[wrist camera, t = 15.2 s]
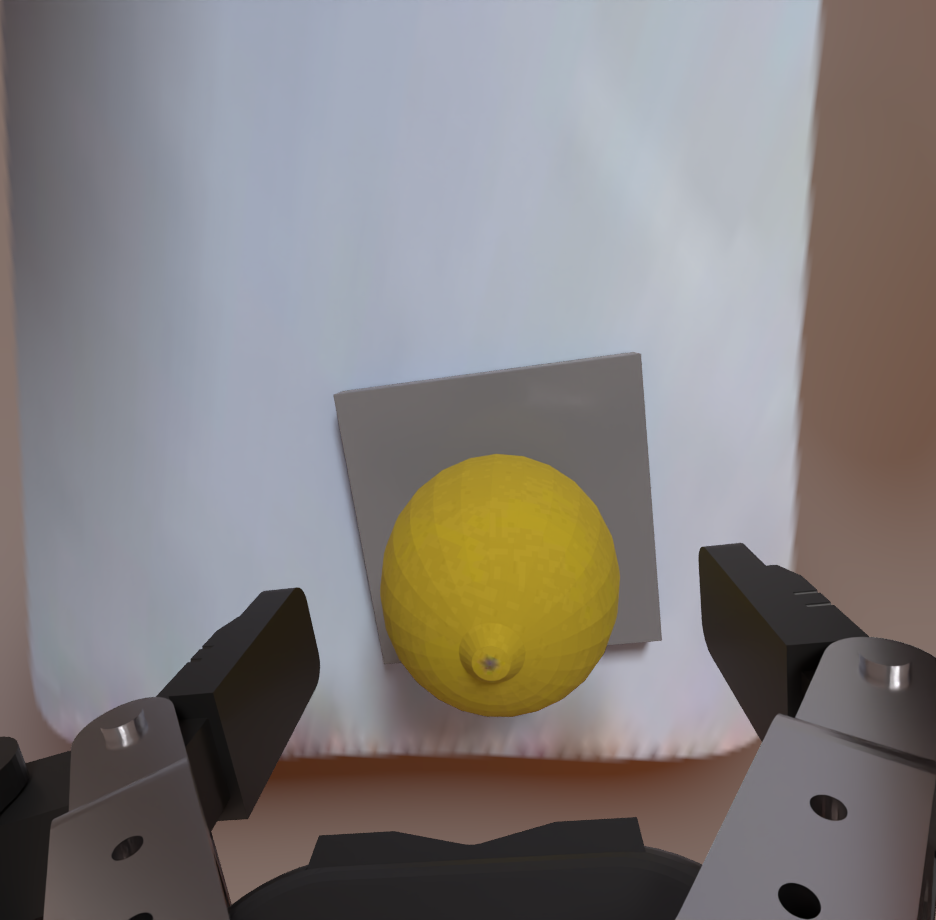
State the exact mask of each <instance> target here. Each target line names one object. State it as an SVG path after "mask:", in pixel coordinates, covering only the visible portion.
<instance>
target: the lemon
mask: <svg viewBox="0 0 936 920" xmlns="http://www.w3.org/2000/svg"><path fill="white" fill-rule="evenodd" d="M619 585H620V571H619V566H618V561H617V556H616V552H615V547H614V542H613V538H612V535H611V533H610V531H609V529H608V527H607V526H606V524H605V522H604V520H603V518H602V516H601V514H600V512H599V510H598V508H597V506H596V505H595V504H594V502H593V501H592V500H591V499H590V498H589V497H588V496H587V495H586V494H585V492H584V491H583V490H582V489H581V488H580V487H579V486H578V485H577V484H576V483H575V481H573V480H572V479H570V478H568V477H567V476H565V475H564V474H562V473H561V472H559V471H558V470H556V469H555V468H553V467H551V466H550V465H547V464H545V463H542V462H539V461H536V460H533V459H530V458H527V457H524V456H516V455H504V454H492V455H486V456H480V457H474V458H469V459H467V460H465V461H462V462H460V463H458V464H455V465H453V466H451V467H448V468H446V469H444V470H442V471H441V472H440V473H438V474H437V475H436V476H434V477H433V478H432V479H431V480H429V481H428V482H427V483H425V484H424V485H423V486H422V487H420V488H419V489H418V490H417V491H416V493H415V494H414V495H413V497H412V498H411V500H410V501H409V502H408V504H407V505H406V506H405V508H404V509H403V510H402V512H401V513H400V514H399V516H398V518H397V520H396V522H395V525H394V527H393V530H392V532H391V535H390V537H389V540H388V543H387V545H386V548H385V552H384V558H383V566H382V576H381V585H380V597H381V603H382V609H383V615H384V621H385V627H386V631H387V633H388V636H389V638H390V640H391V642H392V645H393V647H394V649H395V651H396V654H397V656H398V658H399V660H400V661H401V662H402V664H403V665H404V666H405V668H406V669H407V670H408V671H409V673H410V674H411V675H412V677H413V678H414V679H415V680H416V681H417V682H418V683H419V684H420V685H421V686H422V687H424V688H425V689H426V690H427V691H429V692H430V693H431V694H432V695H434V696H435V697H436V698H437V699H439V700H441V701H443V702H445V703H447V704H449V705H451V706H453V707H455V708H457V709H459V710H462V711H466V712H470V713H474V714H478V715H482V716H487V717H513V716H518V715H522V714H527V713H532V712H536V711H539V710H541V709H543V708H545V707H547V706H549V705H551V704H553V703H556V702H558V701H560V700H561V699H563V698H565V697H566V696H567V695H568V694H569V693H571V692H572V691H573V690H574V689H575V688H577V687H578V686H579V685H580V684H581V683H583V682H584V681H585V680H586V678H587V677H588V675H589V674H590V673H591V671H592V670H593V668H594V667H595V665H596V664H597V663H598V661H599V660H600V658H601V657H602V655H603V654H604V652H605V649H606V647H607V644H608V641H609V638H610V635H611V633H612V630H613V627H614V624H615V622H616V618H617V613H618V600H619Z"/></svg>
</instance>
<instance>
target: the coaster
mask: <svg viewBox="0 0 936 920" xmlns="http://www.w3.org/2000/svg"><path fill="white" fill-rule="evenodd" d="M334 401H335V406H336V411H337V416H338V422H339V427H340V432H341V438H342V443H343V448H344V454H345V459H346V464H347V469H348V475H349V480H350V485H351V491H352V496H353V501H354V506H355V512H356V517H357V522H358V528H359V533H360V538H361V544H362V549H363V554H364V559H365V565H366V570H367V575H368V581H369V586H370V591H371V597H372V602H373V607H374V612H375V618H376V623H377V628H378V634H379V639H380V644H381V649H382V655H383V660H384V664H393V663H402V662H401V661H400V660H399V658H398V656H397V654H396V651H395V649H394V647H393V645H392V642H391V640H390V638H389V636H388V633H387V631H386V627H385V621H384V615H383V609H382V603H381V597H380V585H381V576H382V566H383V558H384V552H385V548H386V545H387V543H388V540H389V537H390V535H391V532H392V530H393V527H394V525H395V522H396V520H397V518H398V516H399V514H400V513H401V512H402V510H403V509H404V508H405V506H406V505H407V504H408V502H409V501H410V500H411V498H412V497H413V495H414V494H415V493H416V491H417V490H418V489H419V488H420V487H422V486H423V485H424V484H425V483H427V482H428V481H429V480H431V479H432V478H433V477H434V476H436V475H437V474H438V473H440V472H441V471H442V470H444V469H446V468H448V467H451V466H453V465H455V464H458V463H460V462H462V461H465V460H467V459H469V458H474V457H480V456H486V455H492V454H504V455H516V456H524V457H527V458H530V459H533V460H536V461H539V462H542V463H545V464H547V465H550V466H551V467H553V468H555V469H556V470H558V471H559V472H561V473H562V474H564V475H565V476H567V477H568V478H570V479H572V480H573V481H575V483H576V484H577V485H578V486H579V487H580V488H581V489H582V490H583V491H584V492H585V494H586V495H587V496H588V497H589V498H590V499H591V500H592V501H593V502H594V504H595V505H596V506H597V508H598V510H599V512H600V514H601V516H602V518H603V520H604V522H605V524H606V526H607V527H608V529H609V531H610V533H611V535H612V538H613V542H614V547H615V552H616V556H617V561H618V566H619V571H620V585H619V600H618V613H617V618H616V622H615V624H614V627H613V630H612V633H611V635H610V638H609V641H608V644H607V645H615V644H627V643H639V642H651V641H662V635H661V622H660V608H659V594H658V581H657V567H656V554H655V540H654V526H653V513H652V499H651V485H650V472H649V458H648V445H647V431H646V417H645V404H644V390H643V377H642V363H641V354H640V353H636V352H630V353H622V354H615V355H608V356H600V357H593V358H585V359H578V360H570V361H563V362H556V363H548V364H541V365H533V366H526V367H518V368H511V369H504V370H496V371H489V372H481V373H474V374H466V375H459V376H451V377H444V378H437V379H429V380H422V381H414V382H407V383H399V384H392V385H385V386H377V387H370V388H362V389H355V390H347V391H342V392H339V393H337V394H334Z"/></svg>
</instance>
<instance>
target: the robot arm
mask: <svg viewBox="0 0 936 920" xmlns="http://www.w3.org/2000/svg"><path fill="white" fill-rule="evenodd" d="M699 577H700V596H701V614H702V626H703V632H704V637H705V641H706V644H707V647H708V650H709V652H710V654H711V656H712V658H713V660H714V661H715V663H716V665H717V666H718V668H719V670H720V672H721V673H722V675H723V677H724V678H725V680H726V682H727V683H728V685H729V687H730V689H731V690H732V692H733V694H734V695H735V697H736V699H737V700H738V702H739V704H740V706H741V707H742V709H743V711H744V712H745V714H746V716H747V717H748V719H749V721H750V723H751V724H752V726H753V728H754V729H755V731H756V733H757V734H758V736H759V738H760V739H761V741H762V744H761V746H760V748H759V750H758V752H757V754H756V756H755V758H754V760H753V762H752V764H751V767H750V768H749V771H748V773H747V775H746V777H745V779H744V781H743V783H742V785H741V787H740V789H739V791H738V793H737V795H736V797H735V799H734V801H733V803H732V805H731V808H730V810H729V812H728V814H727V816H726V818H725V820H724V822H723V824H722V826H721V828H720V830H719V832H718V834H717V836H716V838H715V840H714V842H713V844H712V846H711V849H710V851H709V853H708V855H707V857H706V859H705V861H704V863H703V865H702V864H700V863H698V862H695V861H693V860H690V859H688V858H685V857H683V856H680V855H678V854H674V853H671V852H667V851H664V850H661V849H657V848H652V847H647V846H644V844H643V840H642V836H641V832H640V828H639V824H638V820H637V817H633V818H616V819H599V820H581V821H564V822H554V823H550V824H547V825H544V826H540V827H536V828H533V829H529V830H526V831H522V832H519V833H515V834H512V835H508V836H505V837H502V838H498V839H495V840H491V841H488V842H484V843H481V844H476V845H465V844H459V843H453V842H448V841H443V840H438V839H432V838H427V837H422V836H416V835H411V834H406V833H400V832H395V831H391V832H374V833H358V834H357V833H356V834H339V835H322V836H319V837H318V840H317V843H316V845H315V848H314V851H313V854H312V856H311V859H310V862H309V865H306V866H303V867H299V868H297V869H294V870H292V871H290V872H287V873H284V874H282V875H280V876H278V877H276V878H274V879H272V880H270V881H268V882H266V883H264V884H262V885H261V886H259V887H257V888H256V889H254V890H253V891H251V892H249V893H248V894H246V895H245V896H243V897H242V898H240V899H239V900H238V901H236V902H235V903H234V904H231V901H230V897H229V893H228V890H227V886H226V883H225V879H224V875H223V872H222V868H221V864H220V861H219V857H218V854H217V850H216V846H215V843H214V840H213V836H212V833H211V831H212V829H213V827H214V825H215V824H216V822H217V821H224V820H239V819H248V818H249V816H250V814H251V812H252V810H253V808H254V806H255V804H256V803H257V801H258V799H259V797H260V794H261V793H262V791H263V789H264V787H265V785H266V783H267V781H268V779H269V777H270V775H271V774H272V771H273V770H274V768H275V766H276V763H277V762H278V760H279V758H280V756H281V754H282V752H283V750H284V748H285V747H286V745H287V743H288V741H289V739H290V737H291V735H292V733H293V731H294V729H295V727H296V725H297V723H298V721H299V720H300V718H301V716H302V714H303V712H304V710H305V708H306V706H307V704H308V702H309V700H310V698H311V696H312V694H313V692H314V691H315V689H316V686H317V684H318V680H319V674H320V659H319V653H318V648H317V644H316V639H315V635H314V631H313V626H312V622H311V617H310V613H309V608H308V604H307V600H306V596H305V594H304V592H303V591H302V589H300V588H288V589H279V590H269V591H263V592H261V593H260V594H259V595H258V596H257V598H256V599H255V600H254V601H253V602H252V603H251V604H250V605H249V607H248V608H247V609H246V610H245V611H244V612H243V613H242V614H241V616H240V617H237V618H236V619H234V620H233V621H231V622H230V623H228V624H227V625H225V626H224V627H222V628H220V629H219V630H217V631H216V632H215V633H214V634H213V635H212V637H211V638H210V639H209V640H208V641H207V642H206V643H205V644H204V645H203V646H202V647H203V648H202V649H200V650H199V651H198V652H197V653H196V654H195V655H194V656H193V657H192V658H191V662H188V663H187V664H186V665H185V666H184V667H183V668H182V669H181V670H180V671H179V672H178V673H177V674H176V676H175V677H174V678H173V679H172V680H171V681H170V682H169V683H168V684H167V685H166V686H165V687H164V689H163V690H162V691H161V692H160V693H159V694H158V695H157V696H156V697H149V698H143V699H138V700H135V701H131V702H128V703H125V704H123V705H120V706H118V707H116V708H114V709H112V710H110V711H108V712H106V713H104V714H103V715H101V716H99V717H98V718H96V719H95V720H93V721H92V722H91V723H89V724H88V725H87V726H86V727H85V728H83V730H82V731H81V732H80V733H79V734H78V735H77V736H76V738H75V739H74V741H73V743H72V747H71V751H68V752H64V753H61V754H57V755H54V756H50V757H47V758H43V759H39V760H36V761H33V762H29V763H25V761H24V759H23V756H22V754H21V751H20V748H19V745H18V743H17V741H16V740H15V739H14V738H11V737H0V920H935V915H936V657H934V656H932V655H931V654H929V653H927V652H925V651H923V650H921V649H919V648H916V647H914V646H911V645H908V644H905V643H902V642H898V641H894V640H889V639H884V638H874V637H869V636H868V635H867V634H866V633H865V632H863V631H862V630H861V629H860V628H859V627H858V626H857V625H856V624H854V623H853V622H852V621H851V620H850V619H849V618H848V617H847V616H846V615H844V614H843V613H842V612H841V611H840V610H839V609H838V608H837V607H836V606H834V605H831V602H830V601H829V600H828V599H827V598H826V597H824V596H823V595H822V594H821V593H818V592H817V589H816V588H814V587H813V586H812V585H811V584H810V583H809V582H808V581H807V580H806V579H804V578H803V577H802V576H801V575H798V574H796V573H794V572H792V571H789V570H787V569H785V568H783V567H780V566H778V565H769V566H766V565H765V564H764V563H763V562H762V561H761V560H759V559H758V558H757V557H756V556H755V555H754V554H753V553H752V552H751V551H750V550H749V549H748V548H747V547H746V546H745V545H744V544H743V543H735V544H725V545H716V546H706V547H701V548H700V551H699Z"/></svg>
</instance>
